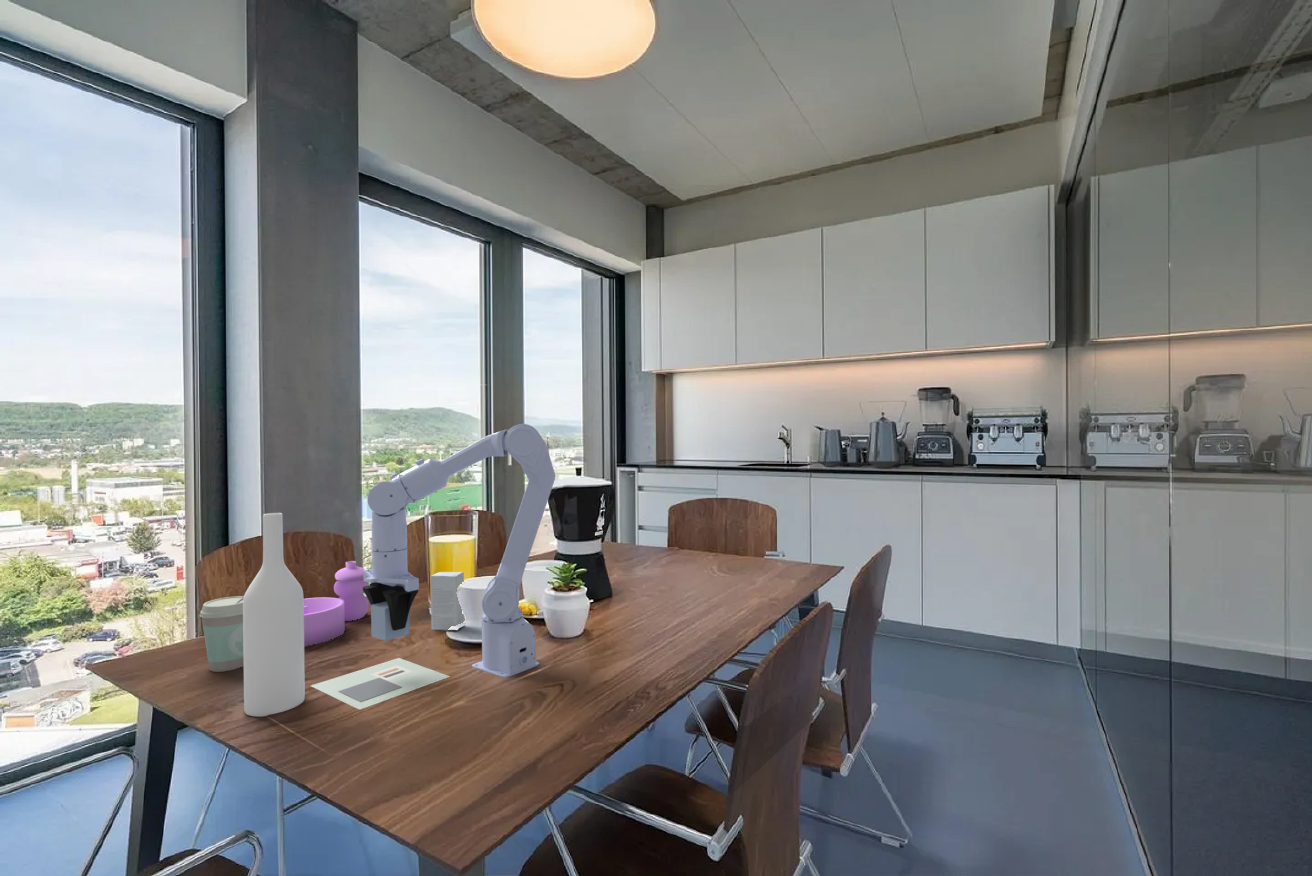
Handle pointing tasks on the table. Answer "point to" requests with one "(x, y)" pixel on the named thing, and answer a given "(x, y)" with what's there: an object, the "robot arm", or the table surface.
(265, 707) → the bottle
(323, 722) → the table surface
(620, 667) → the table surface
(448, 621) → the skincare box
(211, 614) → the coffee cup
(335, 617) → the container set
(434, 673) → the mat
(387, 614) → the blue-grey rectangular block
